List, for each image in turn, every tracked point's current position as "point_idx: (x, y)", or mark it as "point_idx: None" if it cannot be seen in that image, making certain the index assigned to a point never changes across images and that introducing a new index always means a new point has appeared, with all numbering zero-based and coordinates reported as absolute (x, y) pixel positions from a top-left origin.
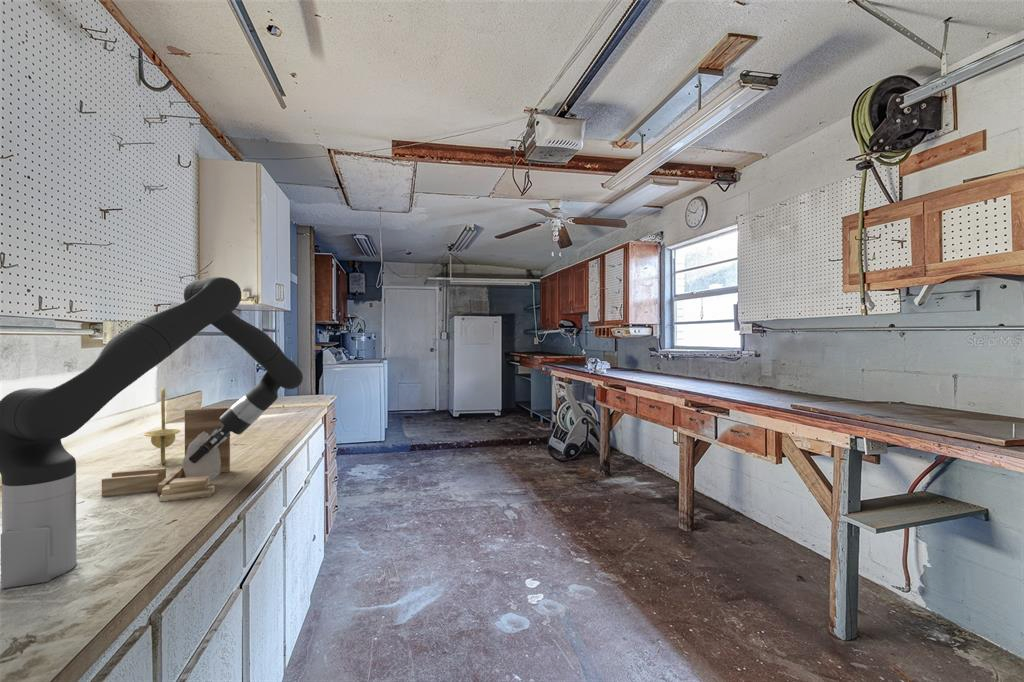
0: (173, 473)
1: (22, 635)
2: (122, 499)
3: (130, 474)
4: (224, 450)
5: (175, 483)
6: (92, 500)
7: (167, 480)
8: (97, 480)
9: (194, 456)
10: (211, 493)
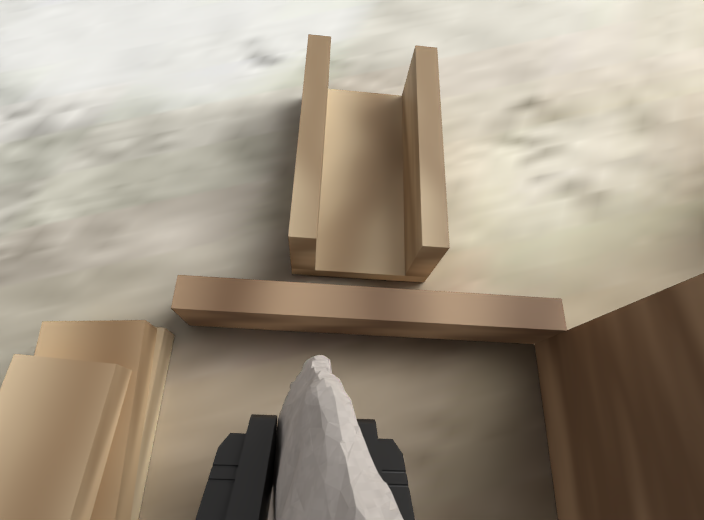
0: (407, 303)
1: None
2: (225, 169)
3: (414, 116)
4: None
5: (2, 392)
6: (269, 82)
7: (255, 305)
8: (545, 40)
9: (211, 476)
10: None
